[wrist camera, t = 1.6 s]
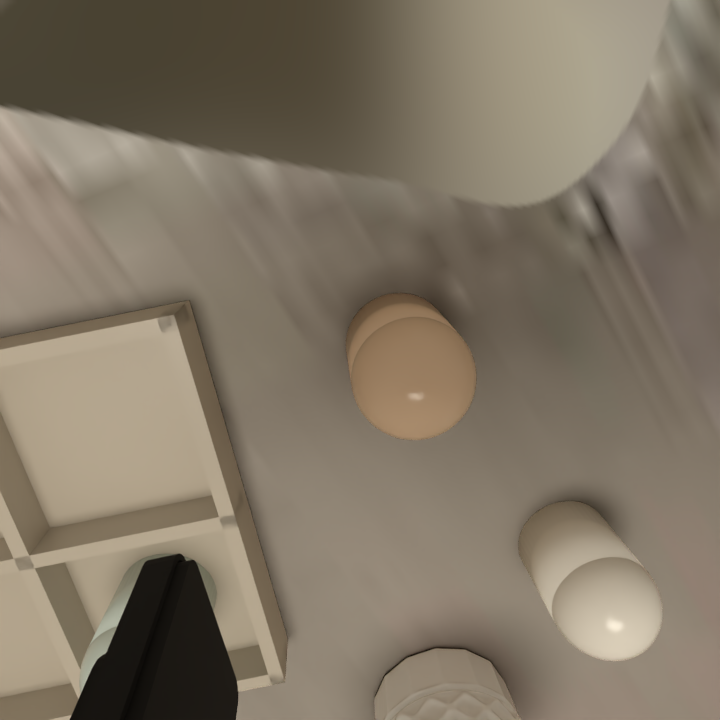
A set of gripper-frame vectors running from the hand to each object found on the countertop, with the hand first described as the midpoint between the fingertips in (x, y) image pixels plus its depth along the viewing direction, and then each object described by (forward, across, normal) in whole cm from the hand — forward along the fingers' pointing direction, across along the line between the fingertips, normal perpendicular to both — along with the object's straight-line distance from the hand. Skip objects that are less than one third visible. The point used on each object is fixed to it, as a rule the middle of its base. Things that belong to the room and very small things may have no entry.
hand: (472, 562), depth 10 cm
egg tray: (+14, +15, +5) cm, 21 cm away
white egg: (+14, -7, +11) cm, 19 cm away
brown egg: (+14, -1, 0) cm, 14 cm away
